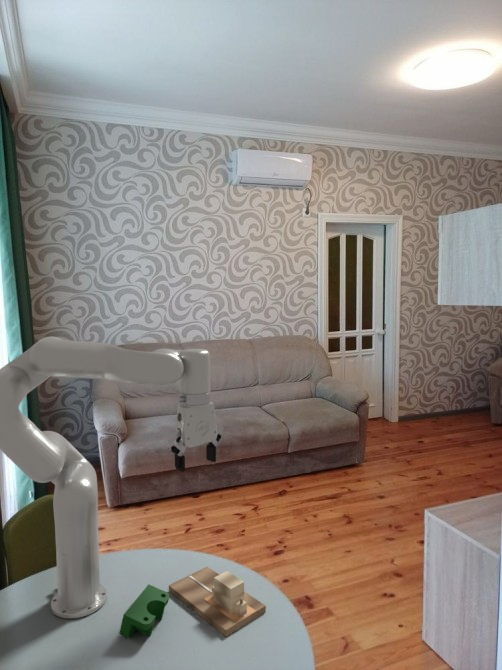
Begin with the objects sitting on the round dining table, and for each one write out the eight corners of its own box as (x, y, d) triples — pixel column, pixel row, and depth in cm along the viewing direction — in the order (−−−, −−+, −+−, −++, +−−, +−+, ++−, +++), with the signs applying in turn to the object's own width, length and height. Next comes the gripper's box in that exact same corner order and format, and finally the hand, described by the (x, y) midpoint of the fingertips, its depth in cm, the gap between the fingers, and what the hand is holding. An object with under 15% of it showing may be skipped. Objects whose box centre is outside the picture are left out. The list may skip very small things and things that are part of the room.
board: (168, 590, 120) (168, 584, 120) (207, 571, 128) (207, 566, 128) (226, 636, 104) (226, 629, 104) (265, 611, 112) (265, 605, 112)
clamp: (144, 656, 104) (144, 634, 99) (120, 644, 105) (118, 622, 101) (170, 605, 114) (171, 583, 109) (148, 595, 115) (148, 573, 111)
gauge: (208, 598, 114) (208, 574, 114) (221, 591, 117) (221, 567, 116) (236, 618, 107) (236, 593, 106) (250, 610, 110) (250, 585, 109)
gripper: (174, 406, 112) (175, 478, 113) (231, 395, 124) (231, 461, 125) (157, 401, 117) (158, 469, 119) (213, 391, 129) (213, 454, 130)
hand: (196, 465), depth 122 cm, fingers open, 9 cm apart
